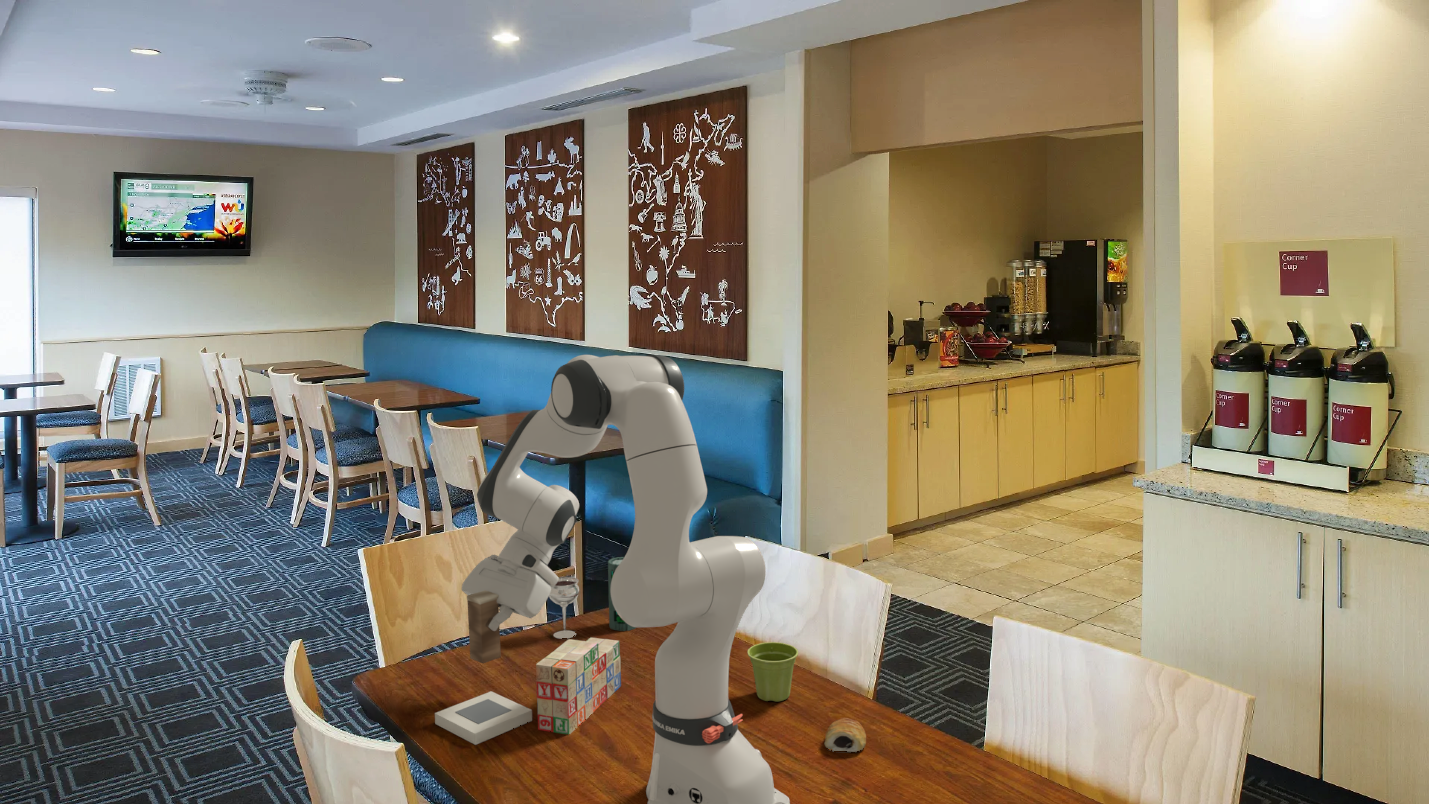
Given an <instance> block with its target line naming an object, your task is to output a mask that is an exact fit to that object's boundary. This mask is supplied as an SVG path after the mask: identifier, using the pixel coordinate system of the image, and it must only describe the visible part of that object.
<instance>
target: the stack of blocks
mask: <svg viewBox="0 0 1429 804" xmlns="http://www.w3.org/2000/svg"><path fill="white" fill-rule="evenodd" d="M620 652H621V651H620V640H615V639H608V638H597V637H590V638H588V639H587V640H586V641H585V640H578V639H570V638H567V639H566V641H564V642H563V643H562V644H561V645H559V646H558V647H557V648H556V649H555V650H554V651H551V653H548V655H547V656H545V657H544V658H542V659H541V660H540V661H538V662H537V663H536V664H535V671H536V673H535V675H536V681H535V687H536V700H537V701H536V702H537V703H536V704H537V730H538V731H544V732H549V733H550V731H551V733H555V734H563V735H567V734H568V736H569V734H570V735H571V734H572V733H573V732H574V731H575V730H576V729H577V728H578V726H579V725H580V726H581V725H582V724H583V723H584V722H586V720H587V719H588V718H590V717H591V716H592V715H593V713H594V712H596V710H597V709H598V708H599V707H600V706H601V705H602V704H604V703H605V702H606V701H607V699H609V698H610V697H611V696H612V695H613V694H614V693H616V691H618V690H619V688H621V686H622V680H621V679H622V675H621V673H622V672H621V670H622V669H621V666H622V665H621V664H622V663H621V653H620ZM591 714H592V715H591ZM590 715H591V716H590ZM589 716H590V717H589ZM585 719H586V720H585ZM582 722H583V723H582ZM581 723H582V724H581ZM580 726H579V727H580ZM575 728H576V729H575Z"/></svg>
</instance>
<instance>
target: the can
mask: <svg viewBox="0 0 1429 804" xmlns="http://www.w3.org/2000/svg"><path fill="white" fill-rule="evenodd" d="M624 557H625V556H620V557H618V556H617V557H612V558H610V559H609V560H607V571H608V572H607V574H608V575H607V576H608V577H607V578H608V579H607V581H608V582H607V583H608V616H609V617H608V620H609V621H608V622H609V628H610V629H611V630H614V631H618V632H619V631H620V632H625V631H628V632H630V631H632V630H635V629H636V628H637V627H632V626H630V625H628V624H627V623H626V622H625V621H624V620H623V619H622V618H621V617H620V616H619V615H618V613H617V612H616V610H615V608H614V606H613V603H612V599H611V581H612V577H613V574H614V572H615V570H616V568H617V567H618V566H619V564H620V563H621V562H622V560H623V559H624Z"/></svg>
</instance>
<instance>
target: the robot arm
mask: <svg viewBox="0 0 1429 804" xmlns="http://www.w3.org/2000/svg"><path fill="white" fill-rule="evenodd" d="M684 381H685V379H684V377H683V374H682V370H681V369H680V367H679V366H678V364H677V363H676V362H675V361H674V360H673V359H672V358H670V357H668V356H664V355H660V354H647V355H617V354H616V355H615V354H614V355H607V356H597V355H594V354H593V355H592V354H581V355H577V356H575V357H573V358H571V359H570V360H569V361H567V363H565V364H563V365H560V367H558V369H557V370H556V372H555V374H554V377H553V378H552V382H551V388H550V394H549V397H548V399H547V402H546V405H545V406H544V408H542V409H533V410H531V411H529V413H527V414H526V415H525V416H524V417H523V418H522V419H521V420H520V422H519V423H518V425H517V426H516V428H515V429H514V431H513V432H512V434H511V435H510V437H509V439H508V440H507V442H506V443H505V445H504V447H503V449H502V450H501V452H500V454H499V455H498V457H497V459H496V461H495V462H494V464H493V466H492V468H491V469H490V471H488V473H487V474H486V475H485V476H484V478H483V479H482V481H481V483H480V485H479V487H478V490H477V493H476V498H477V503H478V505H479V507H480V510H481V511H482V512H483V513H484V514H486V515H489V516H491V517H492V518H495V519H497V520H501V521H502V522H504V523H506V524H507V525H509V526H511V527H513V528H515V529H516V532H514V533H513V534H512V535H511V536H510V538H509V540H508V541H507V542H506V544H505V546H504V547H502V548H503V549H502V550H501V551H500V553H499V554H498V555H496V554H491V555H490V556H488V557H485V558H484V559H482V560H481V561H479V562H478V564H476V565H475V567H474V568H473V569H472V570H471V572H470V573H469V574H468V576H466V578H465V579H464V581H463V582H462V585H461V591H462V592H463V593H464V594H466V596H468V595H471V594H474V593H478V592H481V591H485V590H486V591H489V592H492V593H495V594H498V599H497V603H498V606H499V613H497V614H496V615H495V616H494V617H493V618H489V620H488V622H487V623H486V627H487V628H488V629H490V630H492V631H496V630H497V628H498V627H499V628H500V625H501V624H503V623H505V621H507V620H509V619H510V618H511V616H512V615H513V613H514V614H516V615H520V616H523V617H525V618H528V619H533V618H534V617H536V616H537V615H538V614H539V613H540V611H541V610H542V608H543V607H544V605H545V603H547V600H548V598H550V597H549V595H550V592H551V587H553V586H555V585H556V583H557V582H558V580H559V578H558V575H557V574H556V573H555V572H554V571H553V570H552V569H551V568H550V566H549V563H550V561H551V560H552V556H553V553H554V551H555V550H556V548H558V547H559V546H560V545H561V544H564V543H565V541H566V540H567V538H568V536H569V535H570V534H571V532H572V530H573V528H574V527H575V525H576V523H577V513H578V512H579V509H580V503H579V500H578V498H577V495H575V494H574V493H573V492H572V491H571V490H569V489H568V488H566V487H564V486H562V485H557V484H551V485H548V486H547V485H546V484H544V483H542V482H540V481H538V480H537V479H535V478H533V477H531V476H530V475H528V474H526V473H525V472H524V471H523V470H522V468H521V465H522V464H523V463H524V460H525V459H526V457H527V456H528V454H529V453H531V452H532V453H540V454H541V453H543V454H547V455H550V456H554V457H558V458H566V459H567V458H568V459H569V458H578V457H581V456H584V455H587V454H588V453H590V452H591V451H593V450H594V449H596V447H598V445H599V444H600V442H601V440H602V438H603V437H604V435H605V433H606V431H607V428H608V426H611V425H612V426H614V427H615V428H617V429H618V431H619V433H620V435H621V436H620V437H621V439H622V446H623V452H624V457H625V462H626V467H627V471H628V475H629V482H630V486H631V490H632V498H633V499H632V500H633V505H634V526H633V528H634V529H633V533H632V538H631V541H630V544H629V547H628V550H627V552H626V554H625V555H624V556H623V557H624V559H623V560H622V562H621V563H620V564H619V566H618V567H617V568H616V570H615V572H614V574H613V577H612V581H611V599H612V603H613V606H614V608H615V610H616V612H617V613H618V615H619V616H620V617H621V618H622V619H623V620H624V621H625V622H626V623H627V624H628V625H630V626H632V627H636V628H656V627H659V628H661V627H665V626H670V625H674V624H676V623H677V624H676V625H675V628H674V630H673V631H672V632H671V634H669V636H668V637H667V638H666V639H665V640H664V641H663V642H662V644H661V645H660V646H659V648H658V650H657V652H656V655H655V660H654V682H655V683H654V685H655V686H654V687H655V688H654V690H655V691H654V692H655V700H653V703H652V704H653V705H652V714H651V719H652V728H653V730H654V732H655V733H654V734H655V735H654V744H653V753H652V761H651V768H650V769H651V770H650V775H649V778H648V782H647V786H646V789H645V793H646V797H647V799H648V800H647V804H791V801H790V798H789V796H787V795H786V794H785V793H783V792H781V791H779V789H777V788H775V787H774V786H775V785H774V777H773V773H772V769H771V767H770V764H769V763H768V762H767V761H766V760H765V758H763V756H762V752H761V751H760V750H759V749H758V748H755V747H754V746H753V745H752V744H751V742H749V741H748V739H747V738H746V737H745V735H743V734H742V733H741V731H740V730H739V725H738V724H739V723H741V722H742V721H744V720H743V719H741V718H742V717H743V713H740V714H738V715H736V716H735V712H734V709H733V705H732V703H731V701H730V699H729V671H730V670H729V669H730V656H731V651H732V645H733V642H734V639H735V636H736V633H737V630H738V628H739V625H740V623H741V620H742V619H743V616H744V614H745V612H746V610H747V608H748V607H749V605H750V604H751V602H753V600H754V598H755V597H756V596H757V595H758V594H759V593H760V592H761V591H762V589H763V587H764V584H765V581H766V575H767V572H766V569H767V568H766V561H765V558H764V555H763V554H762V552H761V550H760V548H759V547H758V546H757V545H756V544H755V543H754V542H753V541H752V540H751V539H750V538H747V537H745V536H738V535H716V536H712V537H711V536H710V537H709V538H708V537H707V538H703V539H699V540H695V541H690V525H691V521H692V519H693V516H694V515H695V514H696V513H697V512H698V511H699V510H700V509H701V508H702V507H703V505H704V504H705V502H706V501H707V495H708V486H707V482H706V478H705V474H704V470H703V466H702V461H701V458H700V457H701V456H700V453H699V448H698V444H697V441H696V440H697V439H696V436H695V432H694V430H693V426H692V423H691V419H690V417H689V414H688V412H687V409H686V407H685V404H684V402H683V400H684V395H685V382H684ZM550 586H551V587H550Z"/></svg>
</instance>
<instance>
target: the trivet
mask: <svg viewBox="0 0 1429 804" xmlns="http://www.w3.org/2000/svg"><path fill="white" fill-rule="evenodd" d="M532 721H533V710H532V709H531V708H528V707H527V706H525V705H522V704H520V703H518V702H515V701H513V700H511V699H509V698H507V697H506V696H505V697H504V696H502V695H500V694H498V693H496V692H494V691H491V690H490V691H488V692H486V693H483V694H481V695H477V696H475V697H473V698H470V699H468V700H465V701H463V702H460V703H457V704H455V705H452V706H449V707H447V708H444V709H442V710H439V711H437V712H434V723H435V725H437V726H439V727H441V728H443V729H444V730H446V731H448V732H450V733H451V734H454V735H456V736H458V737H460V738H462V739H463V740H465V741H467V742H469V743H471V744H473V745H475V746H477V745H478V744H481V743H483V742H486V741H488V740H490V739H493V738H495V737H497V736H499V735H501V734H505V733H506V732H509V731H511V730H513V728H514V729H516V728H518V727H520V725H521V726H523V725H525V724H527V722H528V723H530V722H532Z"/></svg>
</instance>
